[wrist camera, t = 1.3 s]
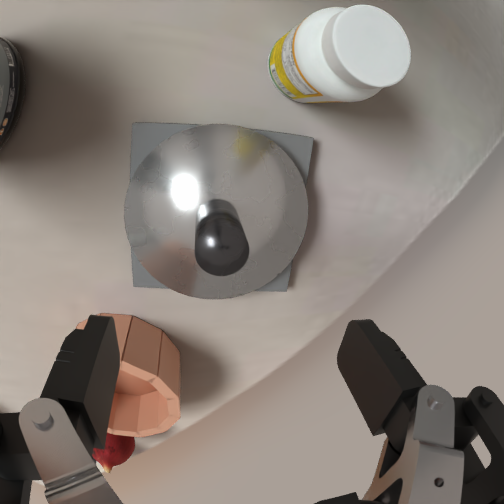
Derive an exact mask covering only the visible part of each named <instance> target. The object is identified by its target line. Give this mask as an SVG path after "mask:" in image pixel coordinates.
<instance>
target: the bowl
mask: <svg viewBox="0 0 504 504" xmlns="http://www.w3.org/2000/svg"><path fill="white" fill-rule="evenodd" d="M98 315H100V316H112V317H113V318H114V322H115V328H116V334H117V340H118V346H119V352H120V369H119V374H118V378H117V383H116V388H115V392H114V397H113V402H112V408H111V413H110V418H109V424H108V430H107V432H108V433H110V434H112V433H113V434H114V435H122V436H132V437H145V436H150V435H154V434H158V433H162V432H165V431H167V430H168V429H169V428H170V427H171V426H172V425H173V424H174V423H175V422H177V421H178V420H179V419H180V386H181V369H180V353H179V350H178V349H177V348H176V347H175V345H174V344H173V343H172V342H171V340H170V339H169V338H168V337H167V335H166V334H165V333H164V331H162V330H161V329H159V328H157V327H155V326H153V325H151V324H149V323H147V322H145V321H143V320H141V319H139V318H137V317H135V316H133V318H132V315H119V314H106V313H101V314H98ZM87 321H88V319H87V320H85V321H83V322H81V323H79V324H78V325H77V327H76V329H84V327H85V325H86V323H87Z"/></svg>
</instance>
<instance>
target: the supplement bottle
mask: <svg viewBox="0 0 504 504" xmlns="http://www.w3.org/2000/svg"><path fill="white" fill-rule="evenodd" d="M410 61H411V50H410V44H409V40H408V38H407V35H406V33H405V32H404V30H403V28H402V27H401V25H400V24H399V23H398V22H397V21H396V20H395V19H394V18H393V17H392V16H391V15H390V14H388V13H387V12H385V11H384V10H382V9H380V8H377V7H374V6H371V5H354V6H351V7H348V8H342V7H330V8H325V9H321V10H319V11H316V12H314V13H313V14H311V15H309V16H308V17H307V18H305V19H304V20H303V21H302V22H300V23H299V24H298V25H297V26H295V27H294V28H293V29H292V30H291V31H289V32H288V33H287V34H286V35H284V36H283V37H282V38H281V39H279V40H278V41H277V42H276V43H275V45H274V46H273V47H272V49H271V51H270V53H269V57H268V72H269V76H270V78H271V81H272V82H273V84H274V86H275V87H276V88H277V89H278V91H279V92H281V93H282V94H283V95H284V96H286V97H288V98H289V99H291V100H294V101H297V102H301V103H325V102H357V101H362V100H365V99H368V98H370V97H372V96H374V95H375V94H377V93H378V92H379V91H380V90H381V89H382V88H384V87H390V86H392V85H394V84H396V83H398V82H399V81H401V80H402V78H403V77H404V76H405V75H406V73H407V71H408V69H409V66H410Z"/></svg>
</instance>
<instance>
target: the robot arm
mask: <svg viewBox="0 0 504 504" xmlns="http://www.w3.org/2000/svg"><path fill="white" fill-rule="evenodd" d="M337 364H338V368H339V370H340V372H341V374H342V376H343V378H344V379H345V382H346V383H347V386H348V388H349V389H350V391H351V393H352V395H353V397H354V399H355V401H356V403H357V405H358V407H359V409H360V411H361V413H362V415H363V417H364V419H365V421H366V423H367V425H368V427H369V428H370V431H371V433H372V435H373V436H375V435H379V434H382V433H386V435H387V438H386V440H385V441H384V444H383V448H382V451H381V455H380V458H379V462H378V465H377V469H376V472H375V476H374V478H373V481H372V484H371V486H370V488H369V489H368V491H367V492H366V494H365V495H364V497H363V499H362V500H359V499H358V496H357V494H356V492H354V493H350V494H347V495H343V496H339V497H335V498H331V499H327V500H322V501H319V502H317V503H315V504H504V405H503V404H502V402H501V401H500V400H499V398H498V397H497V395H496V394H495V393H494V392H493V391H492V390H490V389H488V388H486V387H482V386H478V387H475V388H474V389H473V390H472V391H471V392H470V394H469V395H468V397H467V398H455V397H454V398H453V397H452V396H451V395H450V394H449V392H448V391H446V390H445V389H443V388H442V387H439V386H436V385H427V384H426V383H425V381H424V380H423V379H422V377H421V376H420V374H419V373H418V372H417V370H416V369H415V368H414V366H413V365H412V364H411V362H410V361H409V360H408V359H406V356H405V354H404V353H403V352H402V351H401V349H400V348H399V346H398V345H397V344H396V342H395V341H394V340H393V339H392V338H390V337H389V336H388V335H386V334H385V333H384V332H381V331H380V330H379V328H378V327H377V326H376V324H375V323H374V322H373V321H372V320H370V319H366V320H352V321H350V322H349V324H348V326H347V329H346V331H345V335H344V337H343V340H342V343H341V345H340V348H339V351H338V355H337ZM119 369H120V352H119V346H118V340H117V334H116V328H115V322H114V318H113V317H112V316H100V315H90V316H89V318H88V321H87V323H86V325H85V327H84V329H75V330H74V331H72V332H71V333H70V334H69V335H68V336H67V337H66V338H65V340H64V342H63V344H62V346H61V349H60V352H59V353H58V355H57V357H56V361H55V362H54V364H53V367H52V369H51V371H50V374H49V376H48V379H47V381H46V384H45V386H44V389H43V391H42V394H41V396H40V398H38V399H34V400H32V401H30V402H28V403H27V404H26V405H25V406H24V407H23V408H22V410H21V412H19V413H0V504H29V499H30V491H31V484H32V480H43V483H44V485H45V487H46V491H45V496H46V499H47V501H48V503H49V504H123V503H122V502H121V500H120V499H119V498H118V496H117V495H116V494H115V492H114V491H113V489H112V488H111V487H110V485H109V484H108V482H107V481H106V479H105V478H104V476H103V475H102V473H101V472H100V471H99V469H98V468H97V466H96V465H95V463H94V462H93V460H92V454H93V448H97V449H105V442H106V436H107V430H108V424H109V418H110V413H111V408H112V402H113V397H114V392H115V388H116V383H117V378H118V374H119ZM478 434H479V436H480V437H481V439H482V440H483V442H484V444H485V445H486V447H487V449H488V450H489V452H490V454H491V463H490V465H489V466H488V467H487V468H486V469H485V468H484V466H483V464H482V463H481V461H480V459H479V457H478V455H477V454H476V452H475V450H474V448H473V447H472V445H471V442H472V441H473V440H474V439H475V438H476V436H477V435H478Z"/></svg>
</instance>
